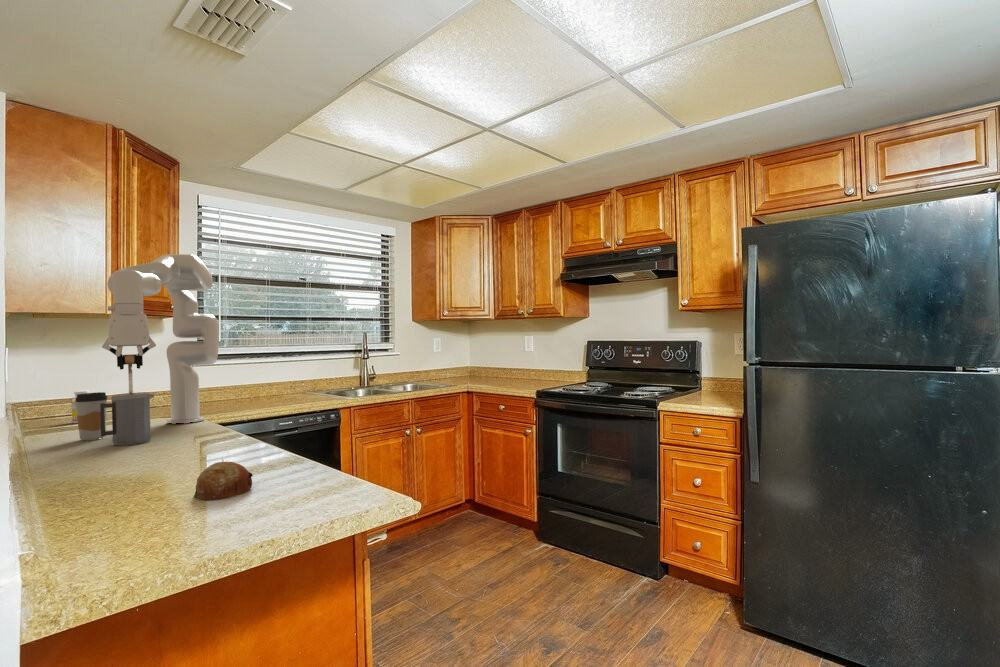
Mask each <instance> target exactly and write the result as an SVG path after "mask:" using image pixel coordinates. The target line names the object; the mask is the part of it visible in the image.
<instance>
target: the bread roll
mask: <svg viewBox="0 0 1000 667" xmlns="http://www.w3.org/2000/svg"><path fill="white" fill-rule="evenodd" d="M253 475H254V474H253V473H252V472H250V471H249V470H248V469H247V468H246V467H245V466H244V465H242V464H240V463H236V462H232V461H217V462H214V463H212V464H210V465H209V466H207V467H206V468H204V469H203V471H202V472H200V474H199V475H198V477H197V478H196V485H195V492H194V495H193V497H194V498H197V499H199V500H203V501H219V500H224V499H226V500H227V499H230V498H233V497H237V496H240V495H243V494H246V493H247V492H249V491H250V490H251V488H252V487H253V479H252V478H253Z"/></svg>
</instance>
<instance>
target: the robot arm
mask: <svg viewBox="0 0 1000 667" xmlns="http://www.w3.org/2000/svg"><path fill="white" fill-rule="evenodd" d="M213 282H214V281H213V275H212V273H211V271H210V270H209V269H208V267H207V266H206V264H205V263H204V262H203V261H202V260H201V259H200V258H199V257H198V256H197V255H195V254H191V253H189V254H187V253H186V254H181V253H178V254H177V253H176V254H175V253H174V254H173V253H171V254H170V253H169V254H163V255H161V256H160V257H158V258H156V259H154V260H152V261H151V262H146V263H142V264H138V265H132V266H127V267H124V268H120V269H118V270H115V271H114V272H113V273H111V275H110V276H109V277H108V280H107V285H106V286H107V288H108V291H109V292H110V294H112V297H113V304H112V305H109V306H107V311H110V312H113V313H112V314H110V315H109V319H108V320H109V321H108V332H107V334H108V335H107V339H106V340H105V341H104V343H102V345H101V348H102V349H104V350H107V351H108V352H111V353H112V354H113V355H114V356H116V361H117V362H116V363H117V364H116V366H117V368H119V370H124V369H125V368H124V366H125V365H123V352H122V351H123V349H124V348H123V347H136V349H137V353H136V354H137V356H136V359H137V364H136V369H137V370H138V369H141V367H142V366H143V365H144V364H143V362H144V361H143V356H144V355H145V354H146V353H147V352H148V351H149V350H151V349H154V348H155V347H156V346H157V344H156V342H154V340H153V338H151V337H150V330H149V320H148V316H147V314H145V313H144V297H152V296H156V295H158V294H159V293H161V290H162V289H163V288H162V287H163V286H164V287H165V289H166V291H167V292H168V294H169V296H170V298H171V300H172V304H173V308H172V311H173V312H172V333H173V335H174V336H175V338H176V337H177V338H179V339H203V340H184V341H183V340H181V341H175V342H172V343H169V345H168V346H167V348H166V351H165V352H166V359H167V362H168V368H169V378H170V379H169V381H170V384H169V386H170V387H169V388H170V415H171V416H170V417H171V418H169V419H167V420H166V424H167V423H172V424H171V425H177V424H176V423H184V424H191V423H190V422H193V423H198V422H202V421H204V420H205V417H204V416H202V415H201V413H200V412H201V410H200V384H199V383H200V382H199V380H200V378H199V374H198V373H197V371H196V370H195V369H194V368H193V366H201V365H202V366H206V365H213V364H215V363H216V362H217V361H218V358H219V340H220V338H219V335H220V332H219V330H220V328H219V326H220V325H219V321H218V319H217V317H216V316H215V315H213V314H209V313H199V302H198V300H197V299H196V297H195V296H194V295H193V294H192V293H191V292H193V291H194V292H195V291H197V292H198V291H201V292H202V291H207V290H208V291H209V290H210V289H211V288H212V287H213ZM190 291H191V292H190ZM143 346H145V347H144V348H143ZM115 347H116V348H115Z"/></svg>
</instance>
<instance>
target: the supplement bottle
mask: <svg viewBox="0 0 1000 667" xmlns="http://www.w3.org/2000/svg"><path fill="white" fill-rule="evenodd" d="M84 393H90V390H89V389H88V390H78V391H77V390H76V391H74V393H73V394H74V397H73V398H72V399H71V419H72V420H71V422H72V423H73V424H78V420H77V407H76V402H75V401H76V398H77V394H84Z"/></svg>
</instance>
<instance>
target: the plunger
mask: <svg viewBox="0 0 1000 667" xmlns="http://www.w3.org/2000/svg"><path fill="white" fill-rule="evenodd" d="M137 354H138V353H136V354H133V353H132V354H122V356H123V365H124V366H125V365H127V366H128V368H127V370H128V393H129V394H133V393H134V389H133V388H134V385H133V384H134V383H133V365H137V359H136V356H137Z"/></svg>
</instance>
